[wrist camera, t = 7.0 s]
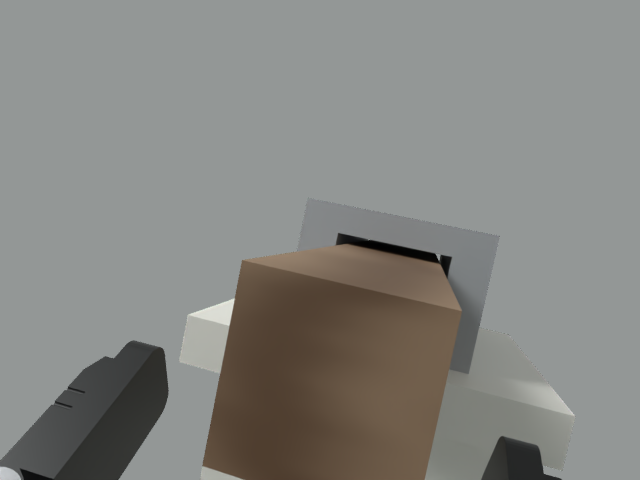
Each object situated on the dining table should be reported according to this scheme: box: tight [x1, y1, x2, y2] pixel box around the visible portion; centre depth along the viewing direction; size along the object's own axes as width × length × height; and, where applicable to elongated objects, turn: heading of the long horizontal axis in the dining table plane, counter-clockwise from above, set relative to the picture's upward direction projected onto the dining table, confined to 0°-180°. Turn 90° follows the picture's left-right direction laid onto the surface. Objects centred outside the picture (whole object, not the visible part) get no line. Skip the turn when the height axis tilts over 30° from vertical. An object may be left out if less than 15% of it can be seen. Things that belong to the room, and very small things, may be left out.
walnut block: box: [202, 240, 462, 480], centre depth 21 cm, size 4×24×4 cm, turn 168°
